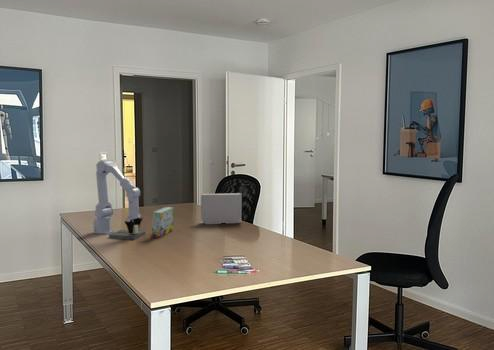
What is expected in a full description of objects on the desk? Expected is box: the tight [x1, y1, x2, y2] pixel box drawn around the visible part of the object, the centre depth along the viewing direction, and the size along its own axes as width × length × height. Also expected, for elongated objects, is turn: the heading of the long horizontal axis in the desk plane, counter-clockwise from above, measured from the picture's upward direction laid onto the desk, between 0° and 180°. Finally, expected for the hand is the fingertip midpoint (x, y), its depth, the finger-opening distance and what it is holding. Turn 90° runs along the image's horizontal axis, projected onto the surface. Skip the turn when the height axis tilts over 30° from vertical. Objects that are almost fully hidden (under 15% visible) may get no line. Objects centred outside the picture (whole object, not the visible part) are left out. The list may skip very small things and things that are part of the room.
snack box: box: [151, 206, 174, 239], centre depth 283 cm, size 21×6×15 cm, turn 168°
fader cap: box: [130, 225, 140, 234], centre depth 274 cm, size 4×4×5 cm
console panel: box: [108, 229, 146, 241], centre depth 276 cm, size 16×14×2 cm
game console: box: [200, 192, 243, 225], centre depth 318 cm, size 6×27×20 cm, turn 104°
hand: (133, 231), depth 275 cm, fingers open, 7 cm apart
